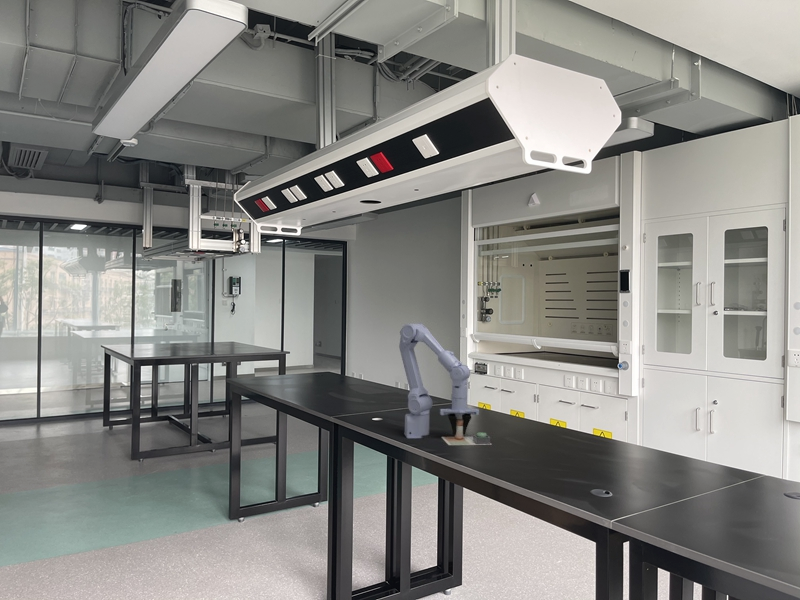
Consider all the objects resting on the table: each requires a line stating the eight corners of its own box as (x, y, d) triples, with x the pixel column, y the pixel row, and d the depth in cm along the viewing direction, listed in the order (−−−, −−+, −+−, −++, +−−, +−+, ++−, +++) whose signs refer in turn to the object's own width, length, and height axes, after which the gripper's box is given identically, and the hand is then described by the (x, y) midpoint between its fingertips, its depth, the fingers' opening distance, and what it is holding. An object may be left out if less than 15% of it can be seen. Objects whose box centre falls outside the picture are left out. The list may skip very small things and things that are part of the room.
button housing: (476, 444, 207) (476, 437, 207) (473, 441, 212) (473, 434, 212) (490, 444, 208) (490, 437, 208) (486, 440, 213) (486, 434, 213)
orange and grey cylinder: (455, 439, 213) (456, 420, 213) (453, 437, 216) (454, 418, 216) (464, 439, 214) (464, 420, 214) (462, 437, 217) (462, 418, 217)
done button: (478, 439, 208) (478, 434, 208) (475, 437, 212) (475, 432, 212) (487, 439, 209) (487, 434, 209) (484, 437, 212) (484, 432, 212)
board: (448, 447, 205) (448, 444, 205) (440, 439, 218) (440, 436, 218) (491, 447, 208) (491, 444, 208) (481, 439, 220) (481, 436, 220)
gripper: (443, 399, 210) (442, 436, 210) (481, 399, 212) (480, 436, 212) (439, 396, 217) (438, 432, 217) (476, 396, 219) (475, 432, 219)
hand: (458, 434), depth 215 cm, fingers closed on orange and grey cylinder, 3 cm apart
